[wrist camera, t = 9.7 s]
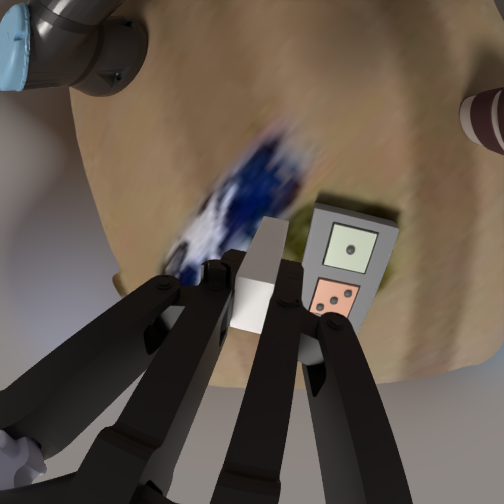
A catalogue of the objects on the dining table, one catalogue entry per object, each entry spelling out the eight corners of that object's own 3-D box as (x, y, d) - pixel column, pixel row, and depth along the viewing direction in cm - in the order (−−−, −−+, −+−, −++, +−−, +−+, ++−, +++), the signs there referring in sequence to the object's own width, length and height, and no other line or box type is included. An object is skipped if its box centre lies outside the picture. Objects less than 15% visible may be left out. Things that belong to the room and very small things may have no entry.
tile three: (310, 300, 44) (309, 312, 41) (319, 269, 41) (319, 280, 38) (345, 307, 43) (346, 320, 40) (356, 277, 40) (358, 288, 37)
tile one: (323, 254, 40) (324, 265, 37) (333, 217, 37) (334, 225, 34) (361, 263, 39) (364, 274, 36) (373, 226, 36) (377, 235, 33)
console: (281, 338, 49) (279, 349, 46) (314, 202, 37) (314, 208, 35) (342, 350, 47) (343, 361, 45) (394, 221, 35) (399, 228, 33)
